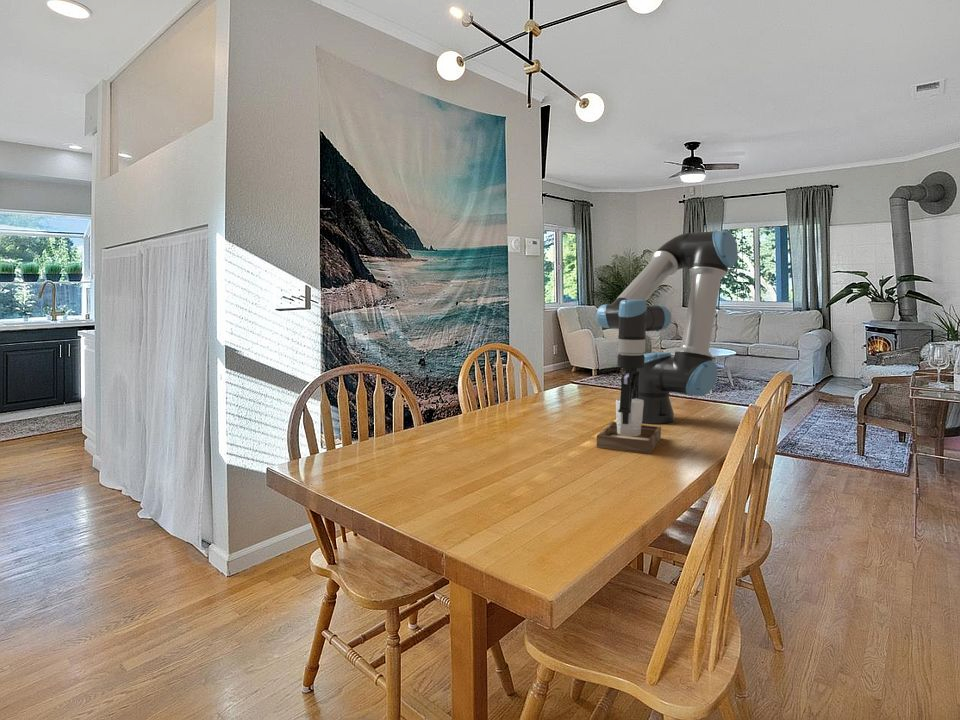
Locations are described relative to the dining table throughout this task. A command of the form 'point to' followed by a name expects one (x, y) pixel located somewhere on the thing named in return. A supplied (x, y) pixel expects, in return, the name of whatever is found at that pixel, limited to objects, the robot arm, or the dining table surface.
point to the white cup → (635, 416)
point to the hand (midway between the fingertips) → (628, 431)
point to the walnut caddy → (629, 439)
